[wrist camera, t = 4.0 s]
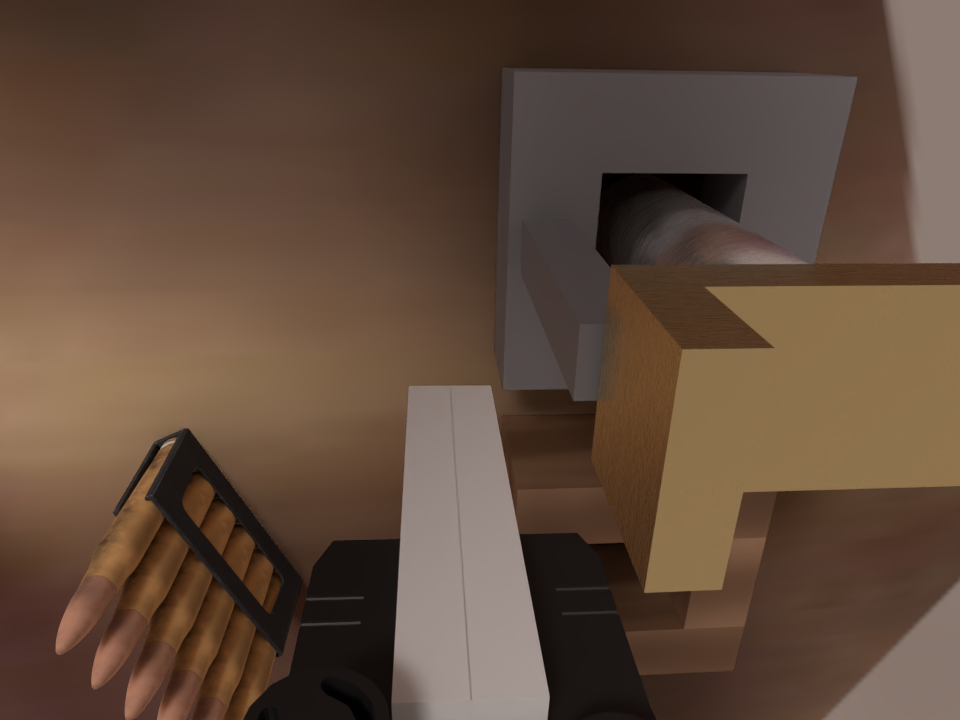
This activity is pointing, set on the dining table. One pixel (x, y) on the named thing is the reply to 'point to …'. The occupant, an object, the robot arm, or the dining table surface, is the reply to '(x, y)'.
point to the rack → (585, 510)
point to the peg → (674, 229)
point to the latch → (767, 396)
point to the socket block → (641, 149)
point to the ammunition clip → (185, 590)
